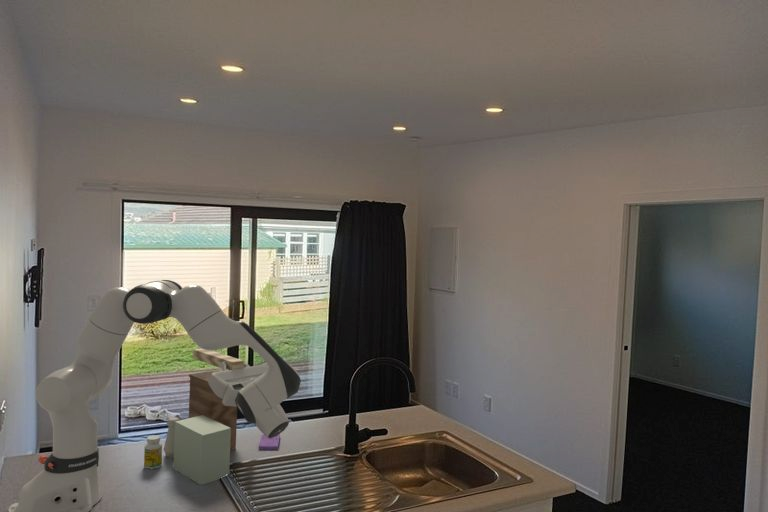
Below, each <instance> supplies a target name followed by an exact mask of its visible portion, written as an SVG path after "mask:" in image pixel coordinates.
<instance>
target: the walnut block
mask: <svg viewBox="0 0 768 512" xmlns="http://www.w3.org/2000/svg"><path fill="white" fill-rule="evenodd" d="M221 371H222V370H219V369H214V370H208V371H202V372H201V371H200V372H195V373H189V374H188V377H189V395H188V396H189V398H188V399H189V400H188V404H189V405H188V418H193V417H197V416H201V415H203V416H205V417H208V418H210V419H212V420H214V421H216V422H219V423H221V424H223V425H225V426H228V427H230V428H231V440H230V451H232V450H235V449H236V448H237V428H238V427H237V425H238V424H237V422H238V408H237V407H235V406H225V405H224V404H223V403H222V400H223V399H221V398H219V397H218V396H217V395H216V394H215V393H214V392H213V390H212V389H211V387H210V386H209V383H208V382H209V379H210V376H211V374H212V373H214V372H221Z"/></svg>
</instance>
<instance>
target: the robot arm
mask: <svg viewBox="0 0 768 512" xmlns="http://www.w3.org/2000/svg"><path fill="white" fill-rule="evenodd" d="M168 318H174V319H175V320H177V322H179V323H180V324H181V326H182V327H183V328H184V330H185V332H186V333H187V335H188V336H189V338H190V339H191V340H192V341H193V342H194V344H195V345H196V347H199V349H201V348H202V349H205V350H212V351H219V350H224V349H227V348H232V347H236V346H246V347H249V348H251V349H252V351H254V353H256V354H257V355H258V356H259V357H260V358H261V359H262V360H263V361H264V362H265V363H266V364H267V365H268V366H267V365H265V364H259V365H253V366H250V364H248V363H245V362H244V368H239V369H233V370H229V369H227V367H228V363H227V362H221V364H220V367H221V368H220V369H221V370H220V371H221V372H214V373H212V374H211V376H210V379H209V382H208V383H209V386H210V387H211V389H212V390H213V392H214V393H215V394H216V395H217V396H218V397H219V398H221V399H223V400H222V403H223V404H224V405H225V406H235V407H237V410H239V411H240V413H241V414H242V415H243V417H244V419H245V420H246V422H247V423H250V424H254V425H255V426H256V427H257V429H258V430H259V431H260V432H261V433H262V435H265V436H266V437H267V438H273V437H276V436H277V435H279V434H282V433H283V432H284V431H285V430H286V428H288V426H289V425H290V424H289V423H290V421H289V418H288V416H287V413H286V412H285V410H284V409H283V407H282V406H281V403H283V402H284V401H285V400H287V399H289V398H291V397H292V396H294V395H296V394H297V393H298V392H299V389H300V386H301V380H302V379H301V377H300V374H299V372H298V371H297V370H296V369H295V368H294V367H293V366H292V365H291V364H290V363H288V362H287V361H286V360H284V359H283V357H282V356H280V355H279V354H278V353H277V352H276V350H274V348H273V347H272V346H271V345H270V344H268V343H267V341H266V340H264V339H263V337H262V336H261V335H260V334H259V333H258V332H257V331H256V330H254V329H253V328H252V326H250V325H249V324H248V323H247V322H244V321H243V320H235V319H232V318H230V317H229V316H228V315H227V314H226V313H224V311H223V310H222V307H221V306H219V304H218V303H217V302H216V300H215V299H214V298H213V297H212V296H211V295H210V294H209V292H208V291H206V289H204V288H203V286H201V285H198V284H191V285H186V286H184V287H182V286H181V284H180V283H178V282H176V281H174V280H171V279H170V280H169V279H162V280H154V281H149V282H146V283H143V284H140V285H136V286H135V287H133V288H131V289H130V288H126V287H122V286H116V287H112V288H110V289H108V291H106V293H105V294H104V295H103V296H102V297H101V299H100V300H99V301H98V303H97V304H96V305H95V307H94V309H93V310H92V311H91V313H90V315H89V317H88V319H87V321H86V322H85V325H84V327H83V328H82V330H81V332H80V334H79V335H78V337H77V340H76V345H77V348H78V351H77V355H76V358H75V360H74V361H73V362H72V363H71V364H69V365H68V366H65V367H63V368H61V369H58V370H57V369H56V370H54V371H53V372H52V373H50V374H49V375H47V376H45V378H43V379H42V380H41V381H40V382H39V383H38V385H37V387H36V390H35V399H36V401H37V403H38V404H39V406H40V408H42V409H43V410H45V411H46V412H47V414H48V415H49V418H50V421H51V426H52V453H50V455H49V456H47V455H45V454H42V455H40V456H39V457H38V459H37V460H38V462H39V463H40V464H41V465H43V466H44V467H43V470H41V471H40V472H38V474H36V475H35V476H34V477H33V478H32V479H30V480H29V481H28V482H27V483H25V484H24V485H23V486H22V487H21V489H20V492H19V497H18V501H17V502H15V503H12V504H10V506H9V507H8V510H7V512H90V511H91V510H92V509H93V506H94V505H95V504H97V503H98V502H99V501H100V500H101V499H102V496H103V494H102V490H101V487H100V483H99V475H98V467H99V463H100V462H99V461H100V452H99V447H98V432H99V431H98V429H99V428H98V427H99V424H98V423H99V422H98V421H97V419H96V418H95V417H93V416H92V414H91V411H90V406H89V402H90V400H91V399H94V398H96V397H97V396H99V395H101V394H102V393H103V392H104V391H106V390H107V388H108V387H109V386H111V384H112V382H113V380H114V377H115V376H114V375H115V373H114V370H113V369H114V364H115V362H116V361H115V360H116V358H117V356H118V354H119V352H120V350H121V347H122V346H123V344H124V343H125V340H126V338H127V337H128V335H129V333H130V331H131V329H132V327H133V326H134V324H135V323H136V324H142V325H148V324H154V323H156V322H160V321H163V320H166V319H168ZM240 360H242V359H240Z"/></svg>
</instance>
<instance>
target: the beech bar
mask: <svg viewBox="0 0 768 512" xmlns="http://www.w3.org/2000/svg"><path fill="white" fill-rule="evenodd" d="M192 359H194V360H196V361H199V362H203V363H204V364H207V365H210V366H214V367H217V368H220V369H222V368H221V367H220V364H221V362H227V363H228V367H227V369H229V370H233V369H239V368H244V363H245V360H244V359H241V360H240V359H239V358H237V357H233V356H230V355H227V354H225V353H221V352H217V351H216V350H205V349H202V348H195V349H193V350H192Z"/></svg>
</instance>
